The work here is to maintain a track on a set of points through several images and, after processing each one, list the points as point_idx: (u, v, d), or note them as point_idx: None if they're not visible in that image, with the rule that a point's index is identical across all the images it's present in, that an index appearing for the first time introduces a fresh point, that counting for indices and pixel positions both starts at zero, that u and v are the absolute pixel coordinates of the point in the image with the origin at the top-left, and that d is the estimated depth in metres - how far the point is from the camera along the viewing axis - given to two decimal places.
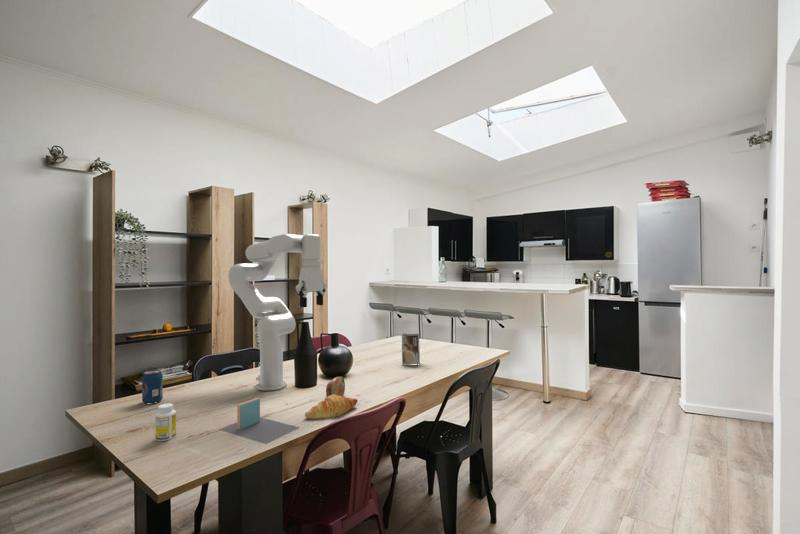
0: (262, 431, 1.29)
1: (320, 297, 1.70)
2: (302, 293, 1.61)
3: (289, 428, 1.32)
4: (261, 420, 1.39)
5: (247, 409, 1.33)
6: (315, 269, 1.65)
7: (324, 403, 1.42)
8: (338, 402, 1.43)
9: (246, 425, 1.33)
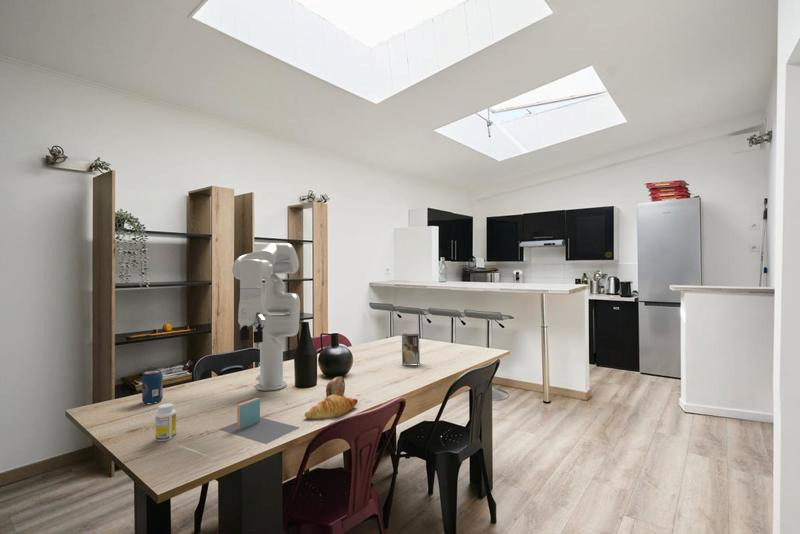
0: (262, 431, 1.29)
1: (247, 331, 1.49)
2: None
3: (289, 428, 1.32)
4: (261, 420, 1.39)
5: (247, 409, 1.33)
6: None
7: (324, 403, 1.42)
8: (338, 402, 1.43)
9: (246, 425, 1.33)
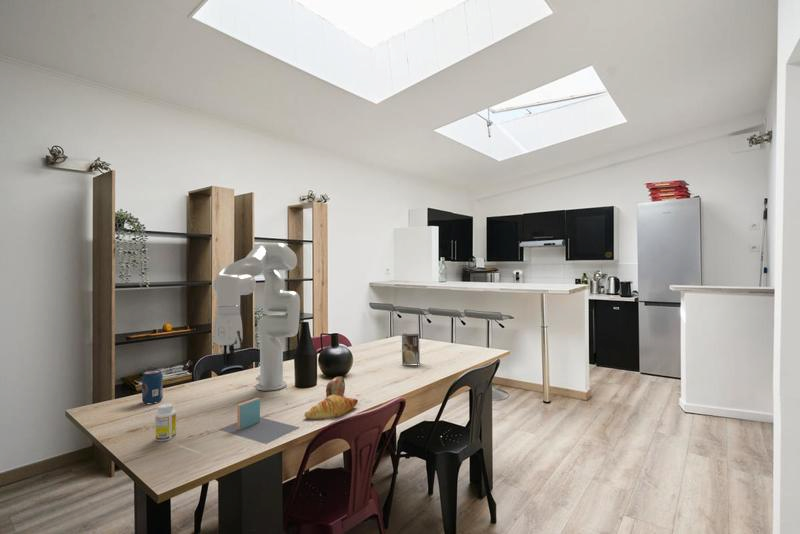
0: (262, 431, 1.29)
1: None
2: None
3: (289, 428, 1.32)
4: (261, 420, 1.39)
5: (247, 409, 1.33)
6: None
7: (324, 403, 1.42)
8: (338, 402, 1.43)
9: (246, 425, 1.33)
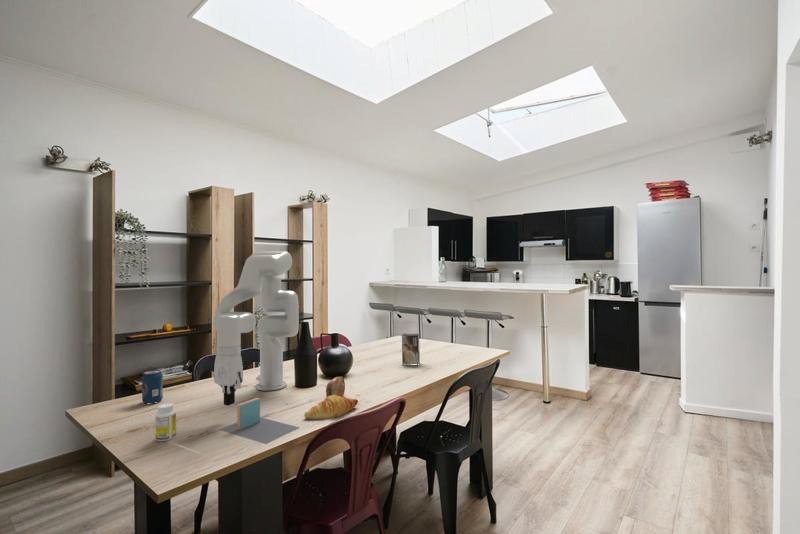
0: (262, 431, 1.29)
1: None
2: (235, 390, 1.39)
3: (289, 428, 1.32)
4: (261, 420, 1.39)
5: (247, 409, 1.33)
6: None
7: (324, 403, 1.42)
8: (338, 402, 1.43)
9: (246, 425, 1.33)
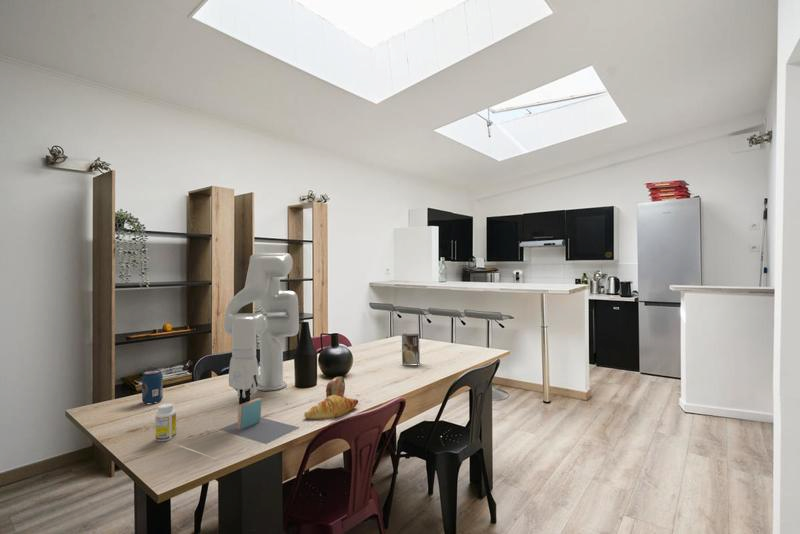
0: (262, 431, 1.29)
1: None
2: None
3: (289, 428, 1.32)
4: (261, 420, 1.39)
5: (248, 410, 1.33)
6: None
7: (324, 403, 1.42)
8: (338, 402, 1.43)
9: (246, 425, 1.33)
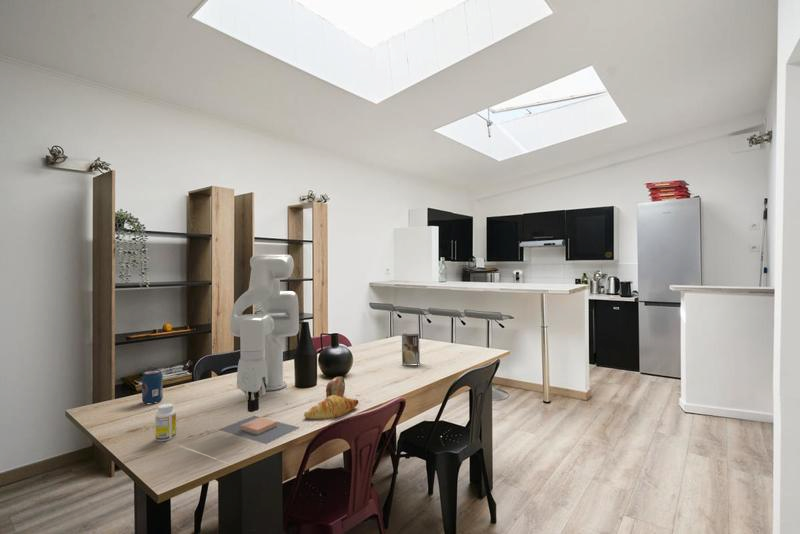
0: None
1: None
2: (259, 396, 1.33)
3: (289, 428, 1.32)
4: None
5: None
6: None
7: (323, 403, 1.42)
8: (337, 402, 1.43)
9: None
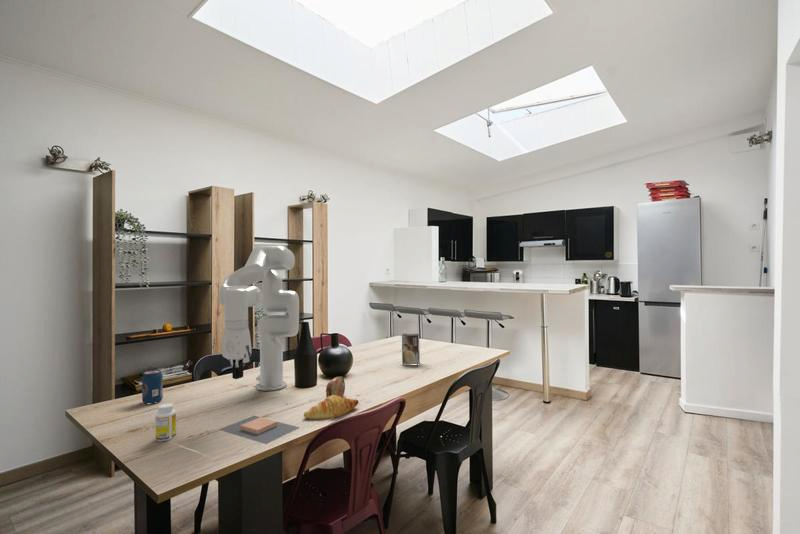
0: None
1: None
2: None
3: (289, 428, 1.32)
4: None
5: None
6: None
7: (323, 403, 1.42)
8: (337, 402, 1.43)
9: None
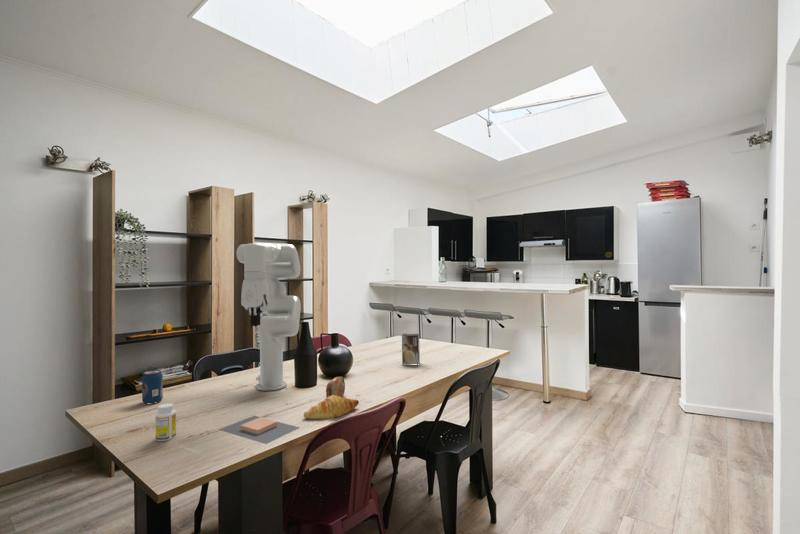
0: None
1: None
2: (261, 312, 1.51)
3: (289, 428, 1.32)
4: None
5: None
6: None
7: (323, 403, 1.42)
8: (337, 403, 1.43)
9: None
